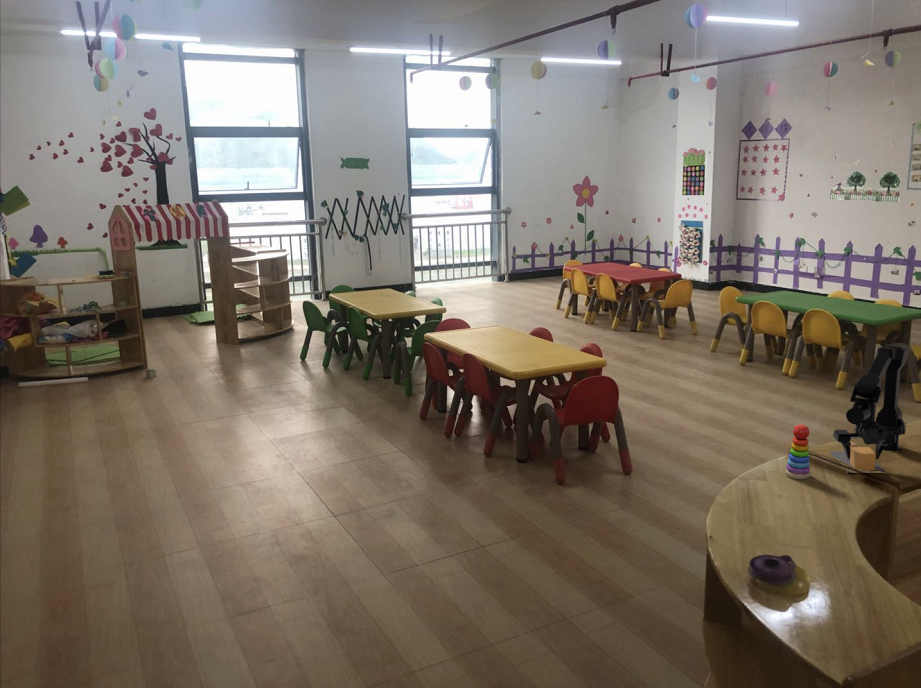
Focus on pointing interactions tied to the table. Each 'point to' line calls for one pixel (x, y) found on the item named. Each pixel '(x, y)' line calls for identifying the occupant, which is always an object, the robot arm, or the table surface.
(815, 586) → the table surface
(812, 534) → the table surface
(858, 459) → the natural wood cube
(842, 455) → the plate
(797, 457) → the stacking toy
